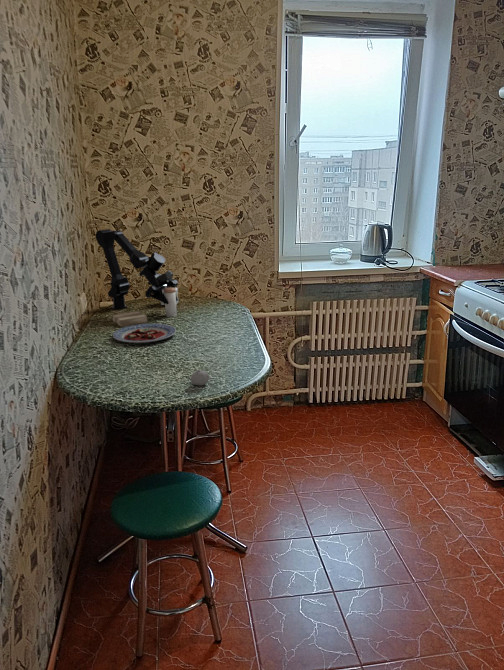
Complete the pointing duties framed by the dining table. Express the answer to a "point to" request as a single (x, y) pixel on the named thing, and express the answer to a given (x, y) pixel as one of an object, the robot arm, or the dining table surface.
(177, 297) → the container
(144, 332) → the ceramic plate
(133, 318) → the base block
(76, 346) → the dining table surface
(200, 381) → the garlic
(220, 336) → the dining table surface
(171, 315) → the jar
